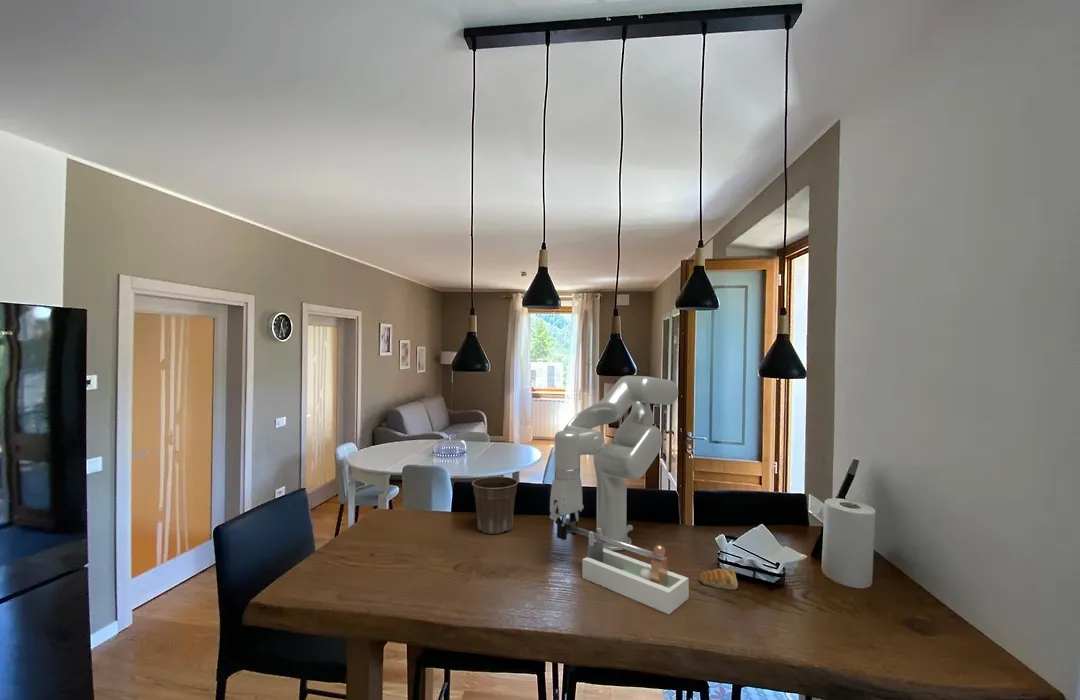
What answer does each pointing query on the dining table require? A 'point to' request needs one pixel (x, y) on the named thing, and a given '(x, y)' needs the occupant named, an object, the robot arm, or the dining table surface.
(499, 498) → the plant pot
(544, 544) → the dining table surface
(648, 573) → the ball
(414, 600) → the dining table surface
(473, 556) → the dining table surface
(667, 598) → the foosball box
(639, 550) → the kicker rod
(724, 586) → the pastry
